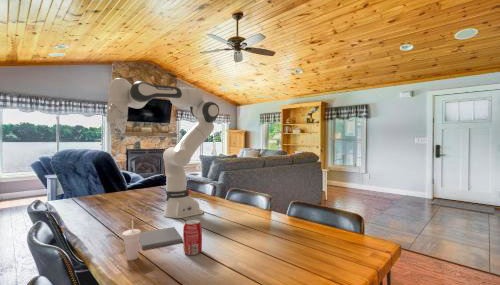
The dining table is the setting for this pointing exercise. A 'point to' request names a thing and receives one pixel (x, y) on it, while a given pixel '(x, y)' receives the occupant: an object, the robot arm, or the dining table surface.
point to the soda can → (192, 237)
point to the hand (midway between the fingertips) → (115, 137)
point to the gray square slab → (159, 238)
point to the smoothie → (131, 242)
